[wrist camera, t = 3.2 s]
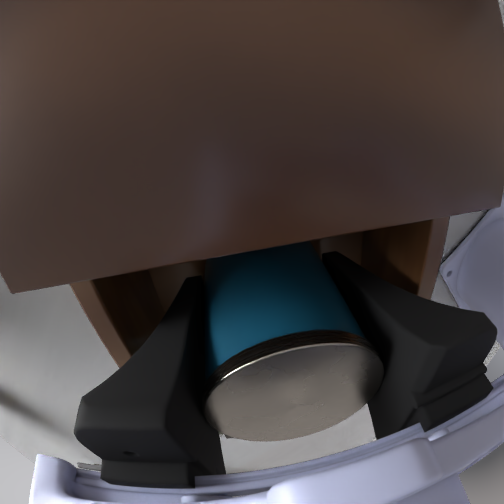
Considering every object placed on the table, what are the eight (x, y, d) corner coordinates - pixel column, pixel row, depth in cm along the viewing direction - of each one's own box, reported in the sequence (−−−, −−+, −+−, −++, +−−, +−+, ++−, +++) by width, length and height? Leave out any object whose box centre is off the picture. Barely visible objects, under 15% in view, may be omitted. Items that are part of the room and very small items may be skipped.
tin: (339, 262, 13) (409, 376, 7) (263, 329, 14) (289, 449, 9) (259, 191, 11) (311, 309, 5) (178, 279, 12) (166, 418, 7)
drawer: (359, 356, 19) (389, 422, 14) (185, 390, 18) (186, 465, 13) (379, 91, 10) (477, 107, 5) (85, 135, 10) (0, 177, 5)
